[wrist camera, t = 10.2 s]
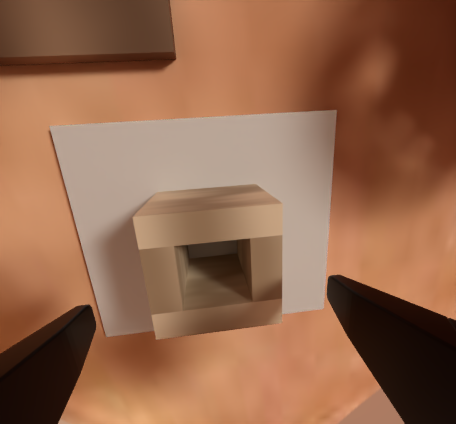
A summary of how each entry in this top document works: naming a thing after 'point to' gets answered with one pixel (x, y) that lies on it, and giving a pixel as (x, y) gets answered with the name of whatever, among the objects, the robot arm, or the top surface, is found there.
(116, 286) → the mat
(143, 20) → the post stand
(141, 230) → the collar
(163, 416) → the top surface
